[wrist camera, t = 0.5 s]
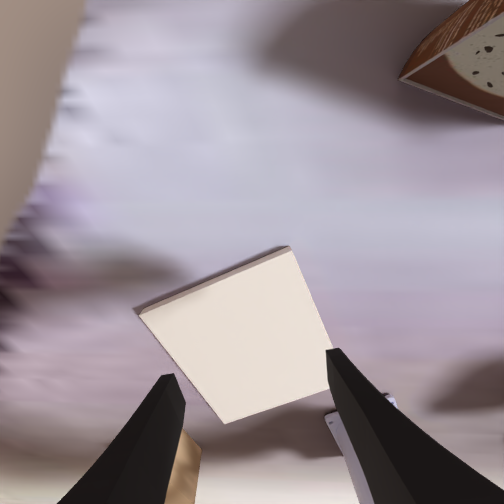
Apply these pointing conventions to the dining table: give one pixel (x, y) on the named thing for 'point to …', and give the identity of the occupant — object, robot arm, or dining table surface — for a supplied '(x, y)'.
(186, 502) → the oak cube
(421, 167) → the dining table surface
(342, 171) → the dining table surface
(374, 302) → the dining table surface
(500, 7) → the food container
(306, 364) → the painted board
